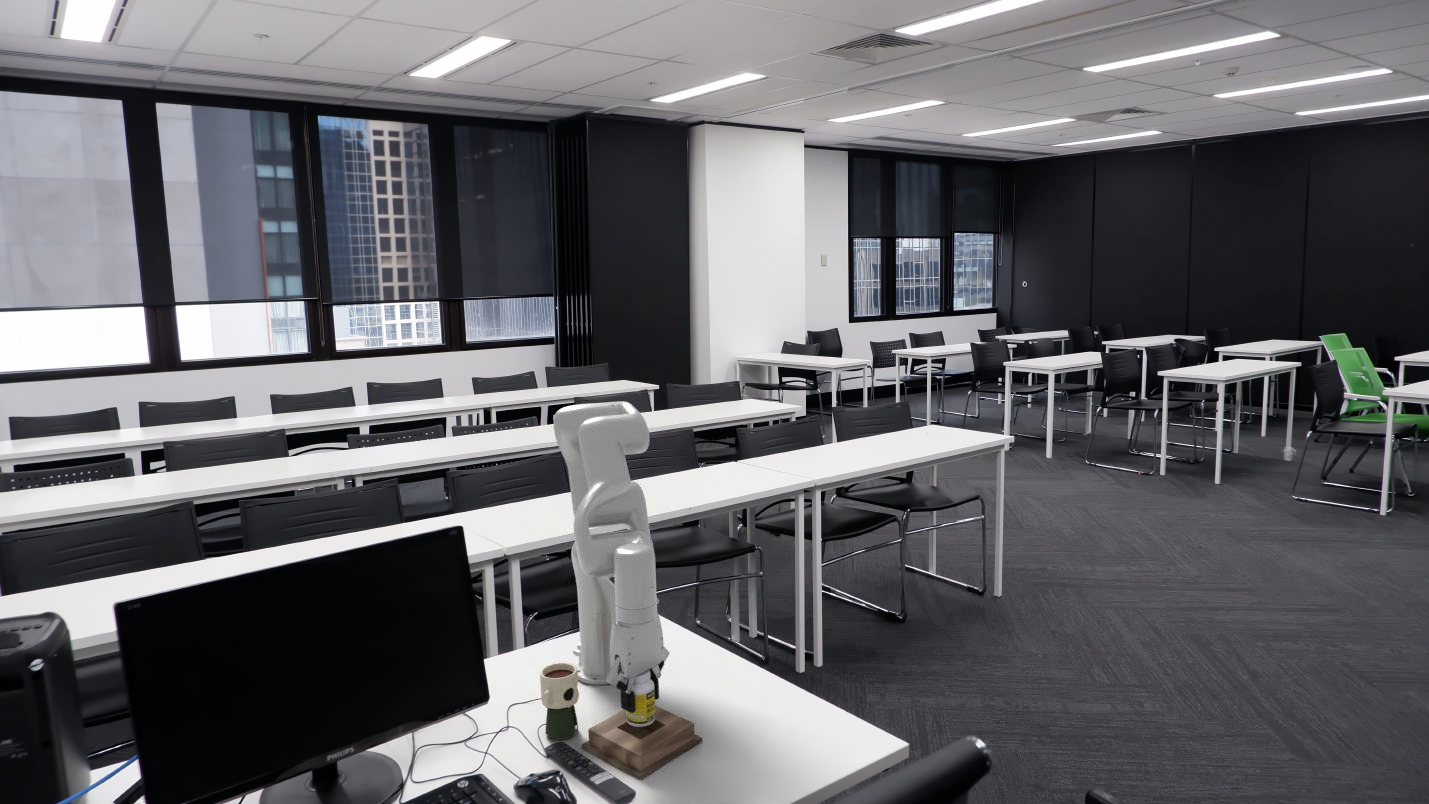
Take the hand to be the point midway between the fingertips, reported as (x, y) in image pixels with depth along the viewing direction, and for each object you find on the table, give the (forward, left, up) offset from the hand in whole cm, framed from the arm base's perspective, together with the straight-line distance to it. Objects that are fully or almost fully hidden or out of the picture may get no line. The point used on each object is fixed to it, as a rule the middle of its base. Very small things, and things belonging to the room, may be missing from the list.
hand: (640, 702), depth 160 cm
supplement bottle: (0, 0, -4) cm, 4 cm away
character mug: (-15, -7, -9) cm, 19 cm away
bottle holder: (0, 0, -8) cm, 8 cm away
